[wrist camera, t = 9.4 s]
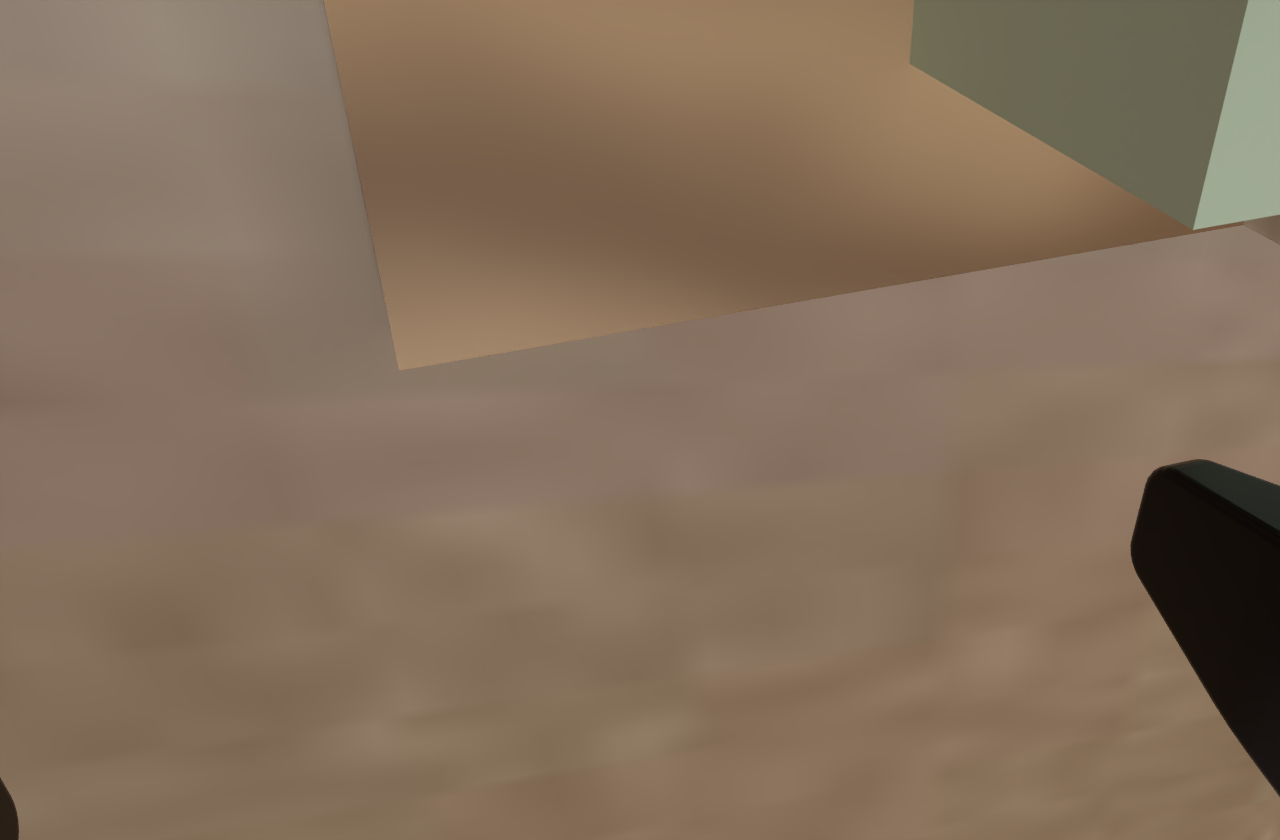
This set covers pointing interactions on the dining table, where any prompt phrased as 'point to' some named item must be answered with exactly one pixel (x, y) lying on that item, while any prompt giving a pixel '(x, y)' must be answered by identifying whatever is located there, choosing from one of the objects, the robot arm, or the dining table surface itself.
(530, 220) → the wooden tray
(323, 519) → the dining table surface
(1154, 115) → the tea box
